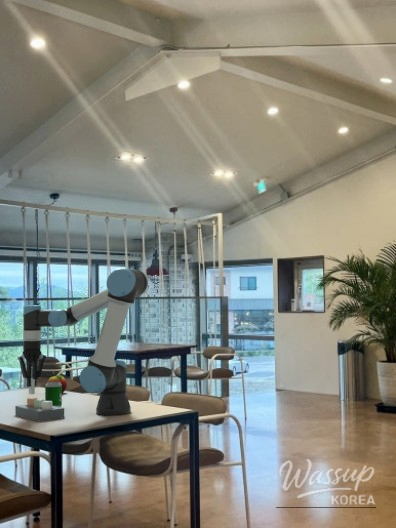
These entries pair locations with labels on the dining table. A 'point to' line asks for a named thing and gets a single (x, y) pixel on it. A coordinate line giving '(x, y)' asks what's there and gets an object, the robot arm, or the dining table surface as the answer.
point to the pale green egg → (38, 403)
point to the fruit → (59, 379)
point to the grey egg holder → (39, 413)
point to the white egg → (46, 405)
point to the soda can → (54, 393)
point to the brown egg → (30, 401)
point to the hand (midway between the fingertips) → (31, 393)
